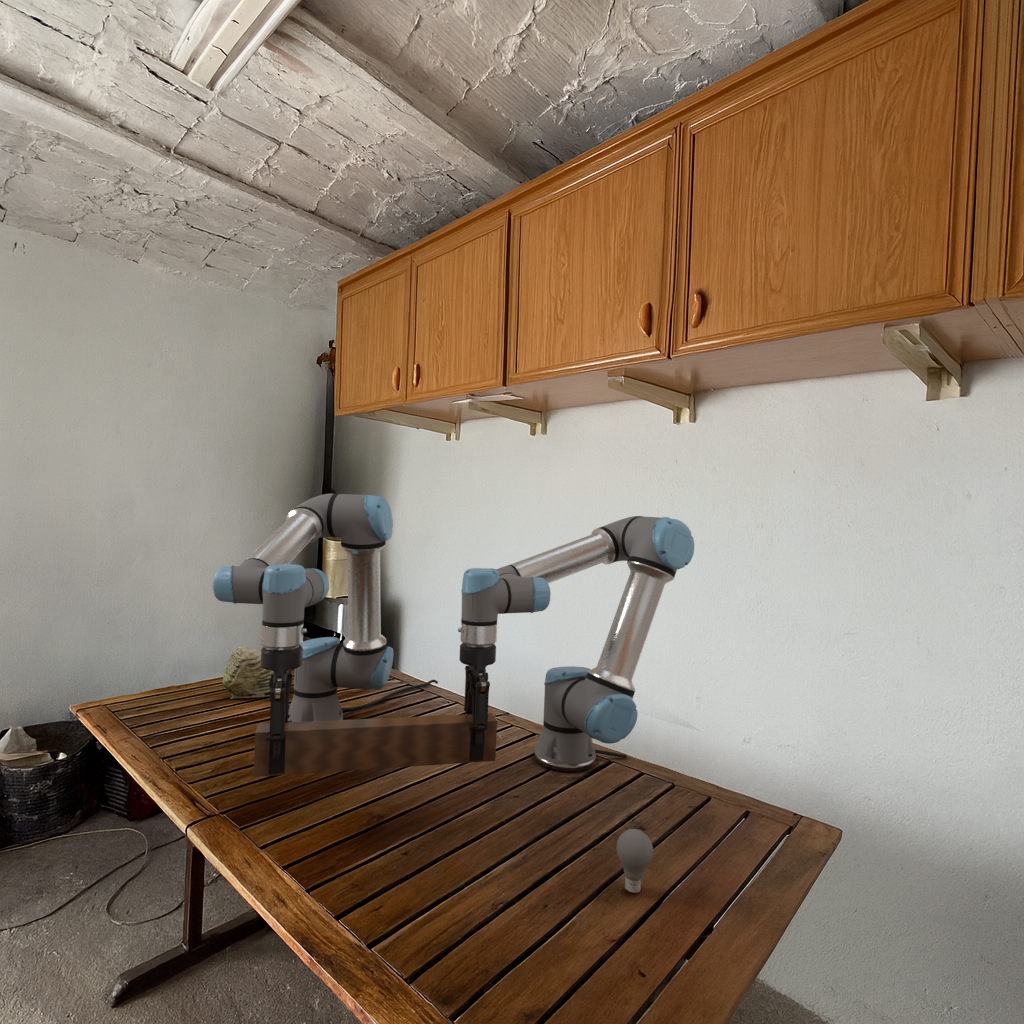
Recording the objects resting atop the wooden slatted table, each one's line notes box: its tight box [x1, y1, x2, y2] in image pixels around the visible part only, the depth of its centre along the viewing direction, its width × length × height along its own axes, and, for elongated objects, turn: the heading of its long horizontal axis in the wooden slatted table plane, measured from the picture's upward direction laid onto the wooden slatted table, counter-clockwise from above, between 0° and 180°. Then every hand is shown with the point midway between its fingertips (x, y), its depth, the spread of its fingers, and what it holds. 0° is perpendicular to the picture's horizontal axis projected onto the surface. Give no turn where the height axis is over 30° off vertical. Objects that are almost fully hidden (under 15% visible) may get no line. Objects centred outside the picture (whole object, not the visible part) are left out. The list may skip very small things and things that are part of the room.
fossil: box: [222, 646, 274, 699], centre depth 198 cm, size 9×18×15 cm, turn 132°
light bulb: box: [615, 828, 654, 894], centre depth 106 cm, size 6×6×10 cm
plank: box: [253, 712, 498, 778], centre depth 127 cm, size 47×5×8 cm, turn 106°
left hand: (278, 766), depth 121 cm, fingers closed on plank, 5 cm apart
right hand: (473, 754), depth 132 cm, fingers closed on plank, 5 cm apart
